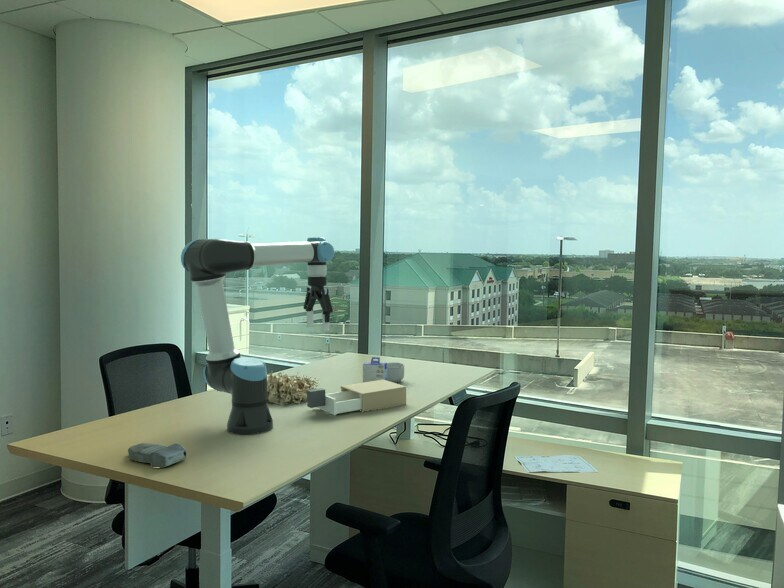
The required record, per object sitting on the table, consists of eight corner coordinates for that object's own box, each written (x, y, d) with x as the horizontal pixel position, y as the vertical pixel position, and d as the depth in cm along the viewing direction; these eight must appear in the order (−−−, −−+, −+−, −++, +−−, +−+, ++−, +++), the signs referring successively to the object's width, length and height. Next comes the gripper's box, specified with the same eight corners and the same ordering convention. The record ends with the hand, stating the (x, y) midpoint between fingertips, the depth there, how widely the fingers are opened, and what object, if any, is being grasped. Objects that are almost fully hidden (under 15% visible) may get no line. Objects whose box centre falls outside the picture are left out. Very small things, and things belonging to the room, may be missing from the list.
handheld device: (142, 450, 185) (141, 435, 185) (190, 461, 176) (190, 445, 175) (115, 460, 177) (114, 444, 176) (164, 471, 167) (163, 455, 167)
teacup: (409, 382, 277) (409, 365, 276) (389, 385, 271) (389, 367, 270) (391, 377, 288) (391, 360, 288) (372, 380, 282) (372, 363, 282)
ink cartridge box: (388, 390, 261) (387, 357, 260) (385, 393, 255) (385, 359, 254) (365, 389, 263) (365, 356, 262) (362, 392, 257) (362, 358, 256)
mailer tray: (319, 417, 216) (319, 395, 215) (299, 408, 229) (299, 387, 228) (380, 406, 231) (380, 385, 230) (358, 398, 244) (358, 378, 243)
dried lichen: (300, 408, 233) (300, 379, 232) (231, 403, 241) (230, 375, 241) (327, 393, 258) (327, 366, 257) (264, 388, 267) (264, 363, 266)
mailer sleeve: (362, 412, 226) (362, 393, 226) (341, 403, 239) (341, 385, 239) (406, 404, 238) (406, 386, 237) (383, 396, 251) (383, 379, 250)
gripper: (341, 276, 234) (341, 331, 236) (311, 274, 255) (311, 325, 256) (323, 277, 230) (324, 332, 231) (294, 275, 250) (295, 326, 252)
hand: (317, 328), depth 244 cm, fingers open, 13 cm apart
